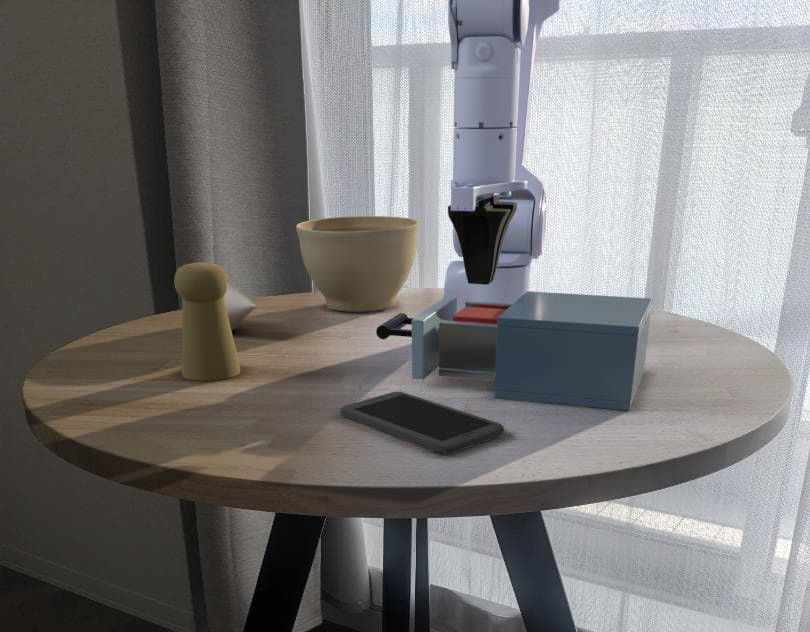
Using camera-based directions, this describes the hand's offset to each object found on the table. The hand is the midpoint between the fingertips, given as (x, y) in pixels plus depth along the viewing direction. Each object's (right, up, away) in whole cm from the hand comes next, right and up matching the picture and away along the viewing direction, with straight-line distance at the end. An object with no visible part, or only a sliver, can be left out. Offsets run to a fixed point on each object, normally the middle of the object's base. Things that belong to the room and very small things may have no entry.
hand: (480, 282), depth 84 cm
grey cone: (-29, 0, +22) cm, 36 cm away
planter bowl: (-14, +7, +35) cm, 38 cm away
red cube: (0, -7, +3) cm, 7 cm away
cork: (-28, -8, +6) cm, 29 cm away
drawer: (-2, -7, +4) cm, 9 cm away
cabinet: (+9, -10, +1) cm, 13 cm away
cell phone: (-6, -15, -9) cm, 19 cm away
